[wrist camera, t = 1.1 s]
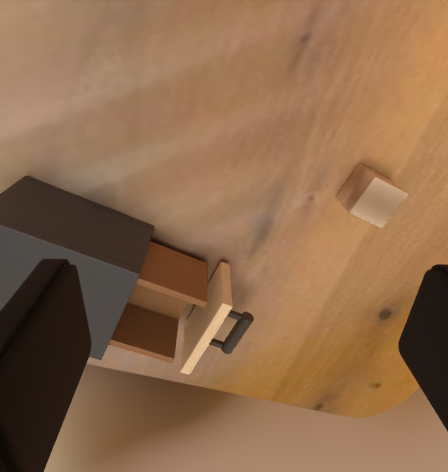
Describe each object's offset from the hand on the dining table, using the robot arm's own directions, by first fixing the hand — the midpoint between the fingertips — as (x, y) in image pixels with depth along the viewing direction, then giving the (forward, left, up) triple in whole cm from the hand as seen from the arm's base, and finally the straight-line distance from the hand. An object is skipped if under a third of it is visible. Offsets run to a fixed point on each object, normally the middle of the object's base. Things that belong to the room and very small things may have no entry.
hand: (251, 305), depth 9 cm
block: (0, +18, -29) cm, 34 cm away
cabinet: (+21, -9, -29) cm, 37 cm away
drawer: (+21, +4, -28) cm, 36 cm away
